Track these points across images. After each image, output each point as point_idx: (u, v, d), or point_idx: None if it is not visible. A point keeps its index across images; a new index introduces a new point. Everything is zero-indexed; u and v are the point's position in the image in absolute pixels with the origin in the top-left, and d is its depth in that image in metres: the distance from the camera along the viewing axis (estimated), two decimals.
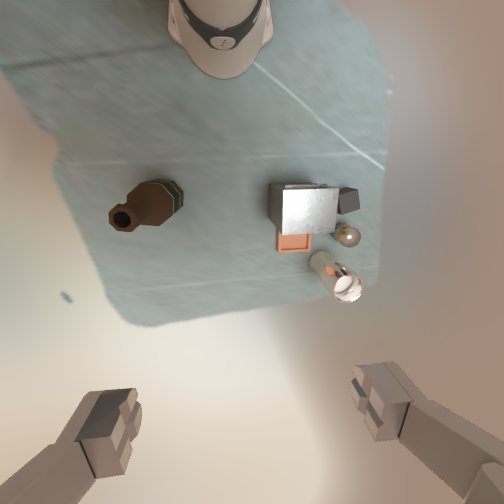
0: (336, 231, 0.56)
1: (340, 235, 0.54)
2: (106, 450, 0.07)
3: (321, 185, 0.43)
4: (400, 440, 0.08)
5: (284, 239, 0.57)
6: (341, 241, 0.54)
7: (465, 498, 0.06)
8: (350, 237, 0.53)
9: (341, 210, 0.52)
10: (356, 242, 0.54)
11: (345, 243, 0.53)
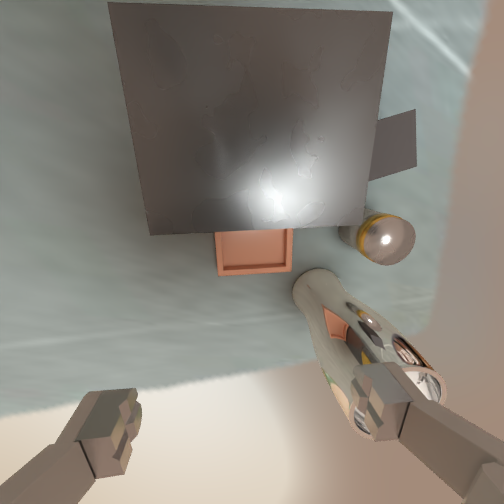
0: (351, 226, 0.24)
1: (363, 236, 0.21)
2: (106, 450, 0.07)
3: None
4: (400, 440, 0.08)
5: (230, 244, 0.25)
6: (365, 251, 0.22)
7: (465, 498, 0.06)
8: (389, 241, 0.21)
9: None
10: (404, 254, 0.21)
11: (376, 256, 0.21)
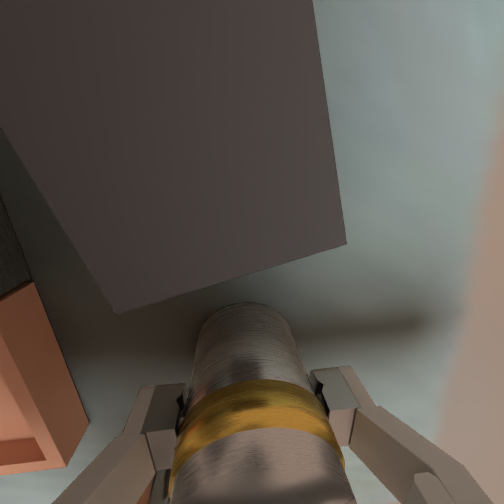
0: (191, 382, 0.08)
1: None
2: (168, 442, 0.07)
3: None
4: (350, 447, 0.08)
5: None
6: None
7: None
8: None
9: (105, 270, 0.04)
10: None
11: None
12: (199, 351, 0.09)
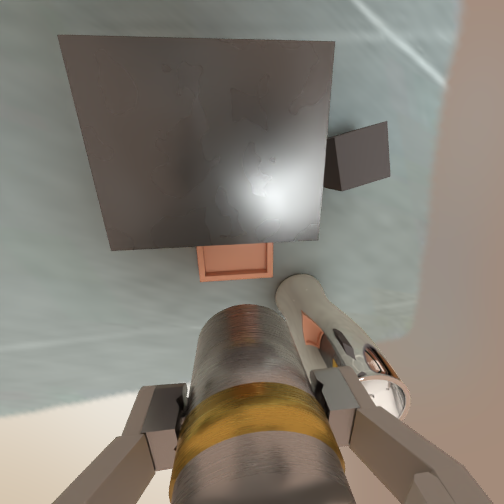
0: (191, 384, 0.08)
1: None
2: (169, 442, 0.07)
3: None
4: (350, 447, 0.08)
5: (212, 250, 0.25)
6: None
7: None
8: None
9: (343, 180, 0.20)
10: None
11: None
12: (199, 353, 0.09)
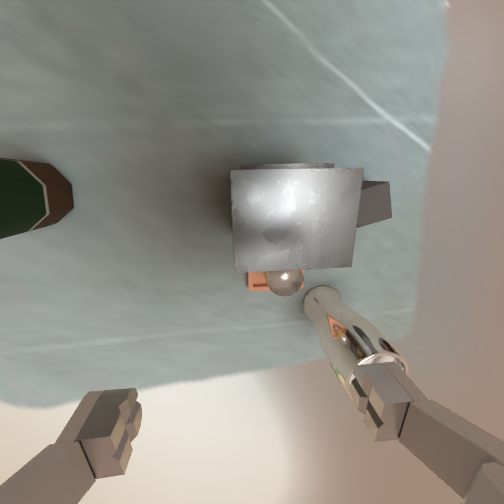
0: None
1: (265, 274, 0.28)
2: (106, 450, 0.07)
3: (321, 165, 0.20)
4: (400, 440, 0.08)
5: None
6: (268, 285, 0.28)
7: (465, 498, 0.06)
8: (283, 278, 0.28)
9: (359, 220, 0.28)
10: (297, 287, 0.28)
11: (275, 289, 0.28)
12: None
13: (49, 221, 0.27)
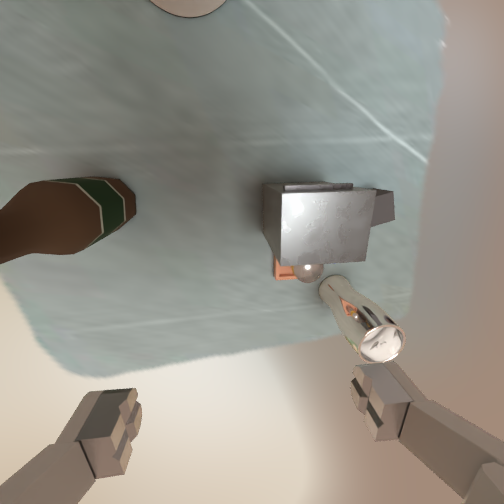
0: None
1: None
2: (106, 450, 0.07)
3: (343, 185, 0.27)
4: (400, 440, 0.08)
5: None
6: (295, 274, 0.35)
7: (465, 498, 0.06)
8: (307, 268, 0.35)
9: None
10: (318, 275, 0.35)
11: (300, 277, 0.35)
12: None
13: (121, 225, 0.34)
